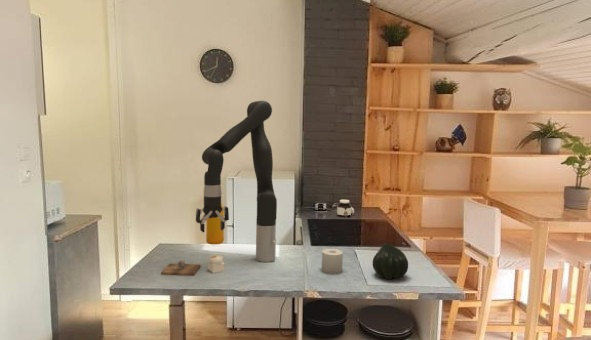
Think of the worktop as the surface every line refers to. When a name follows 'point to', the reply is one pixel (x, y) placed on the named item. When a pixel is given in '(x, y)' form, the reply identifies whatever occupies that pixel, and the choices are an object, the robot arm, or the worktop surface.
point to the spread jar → (344, 208)
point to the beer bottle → (215, 230)
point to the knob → (216, 264)
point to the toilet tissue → (332, 261)
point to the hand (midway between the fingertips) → (212, 230)
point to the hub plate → (181, 269)
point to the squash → (390, 262)
